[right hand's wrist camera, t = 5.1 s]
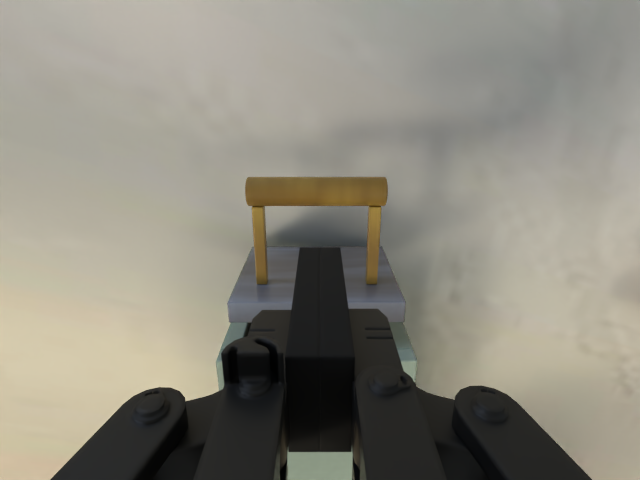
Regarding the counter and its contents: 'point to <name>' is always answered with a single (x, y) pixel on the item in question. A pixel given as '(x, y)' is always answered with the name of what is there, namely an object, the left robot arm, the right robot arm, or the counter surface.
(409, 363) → the cabinet
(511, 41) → the counter surface
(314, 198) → the drawer
